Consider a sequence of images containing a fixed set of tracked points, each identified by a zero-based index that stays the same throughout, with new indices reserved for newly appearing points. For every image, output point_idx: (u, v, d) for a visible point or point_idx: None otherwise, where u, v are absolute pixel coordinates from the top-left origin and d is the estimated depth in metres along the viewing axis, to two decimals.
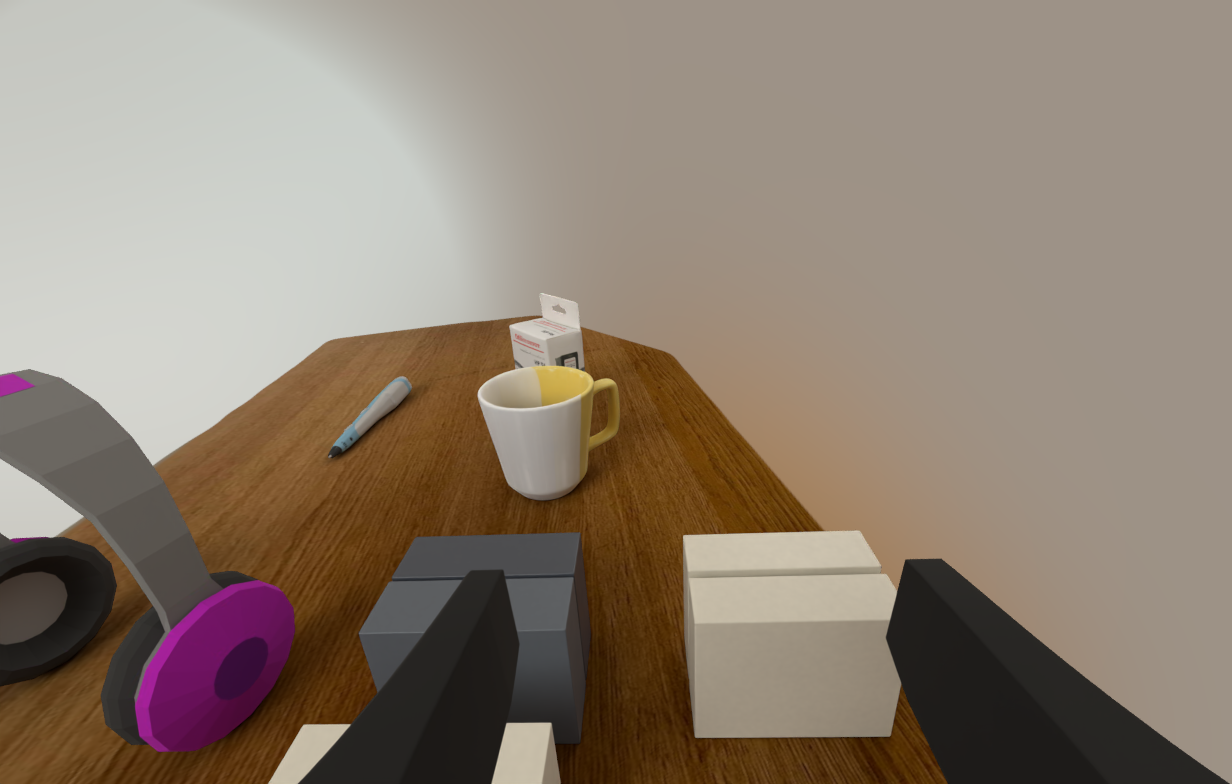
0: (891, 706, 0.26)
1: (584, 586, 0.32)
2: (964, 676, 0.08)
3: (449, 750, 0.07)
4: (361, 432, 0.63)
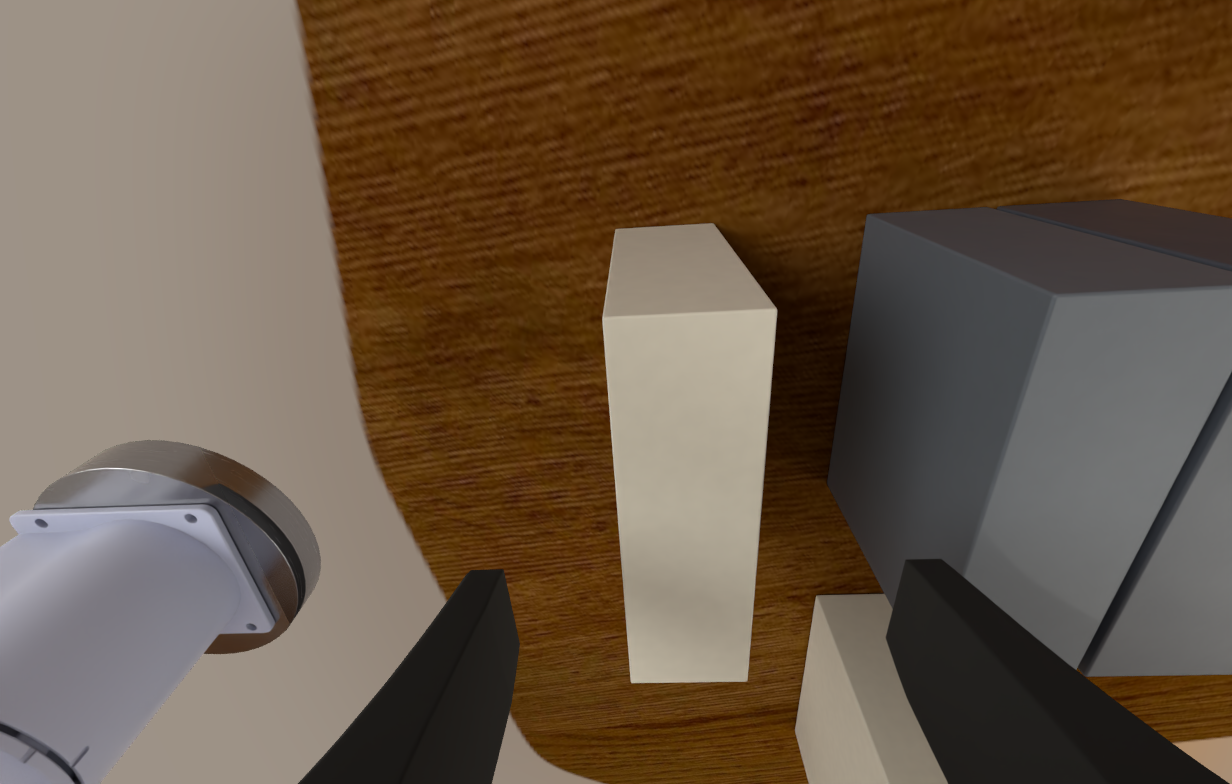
0: (807, 775, 0.26)
1: None
2: (964, 676, 0.08)
3: (449, 750, 0.07)
4: None
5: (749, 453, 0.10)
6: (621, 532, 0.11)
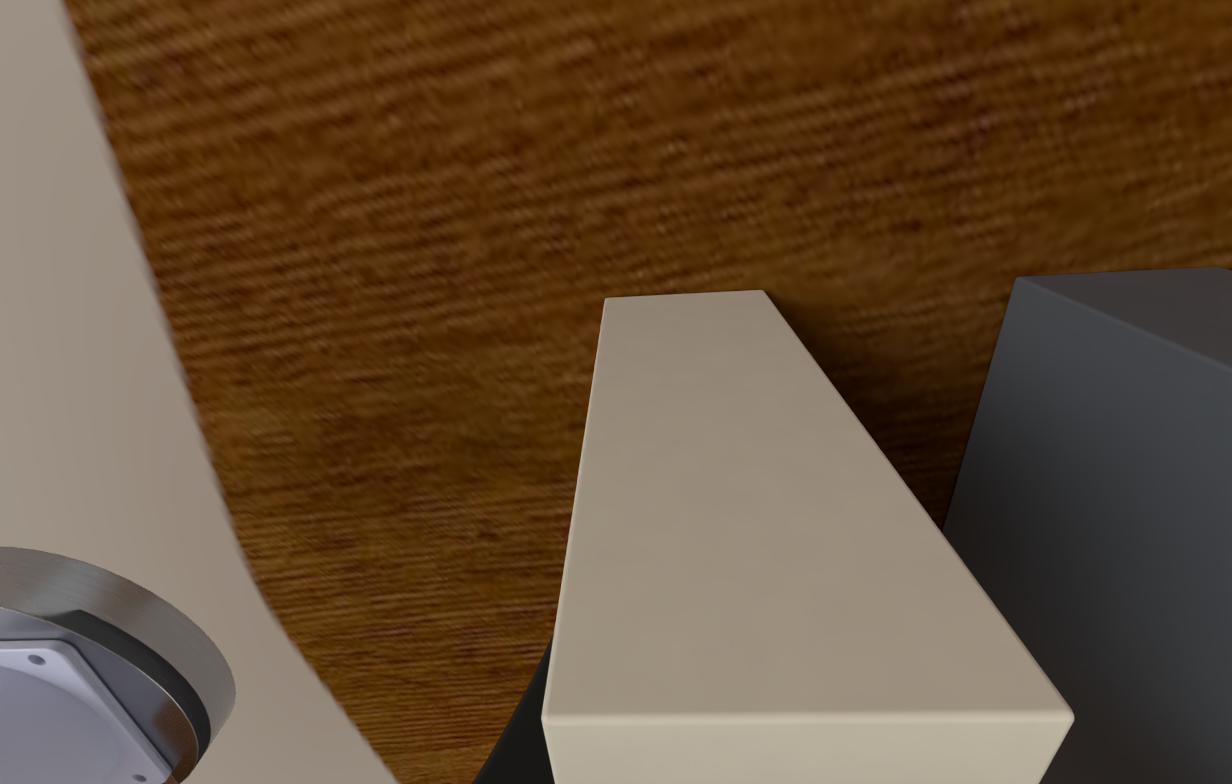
0: None
1: None
2: None
3: None
4: None
5: None
6: None
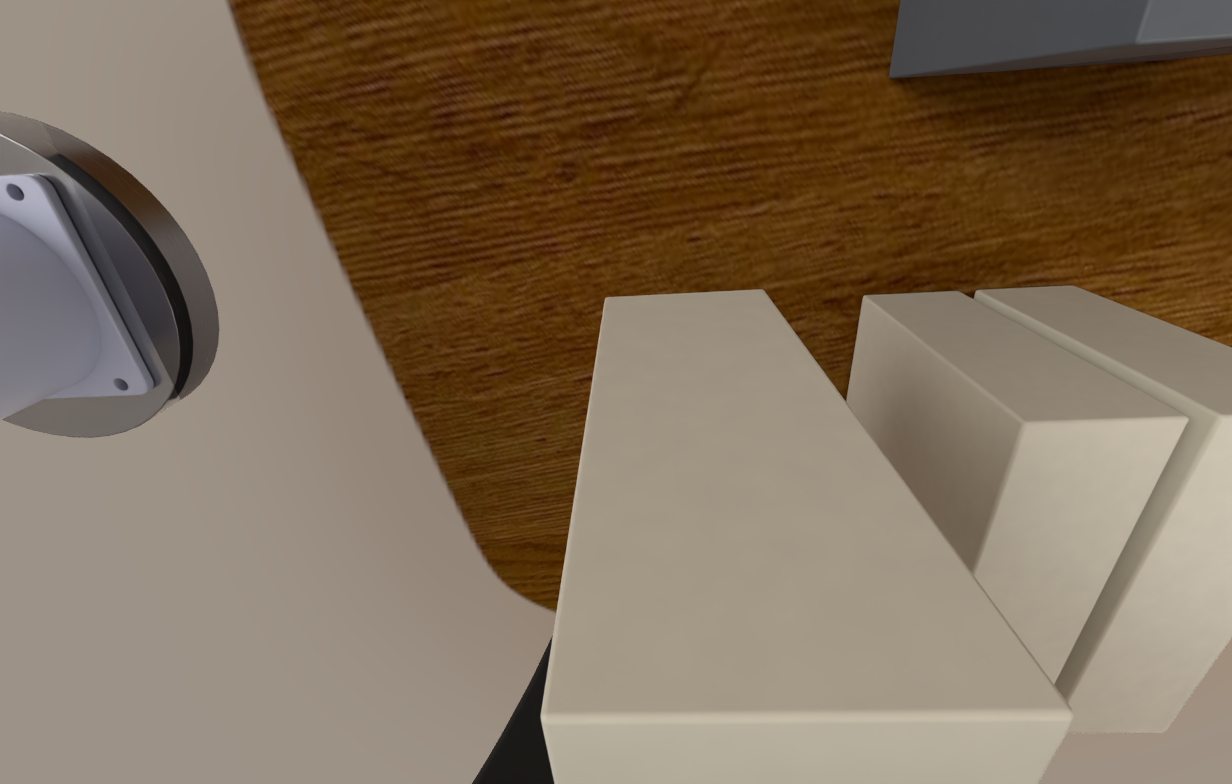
0: None
1: None
2: None
3: None
4: None
5: None
6: None
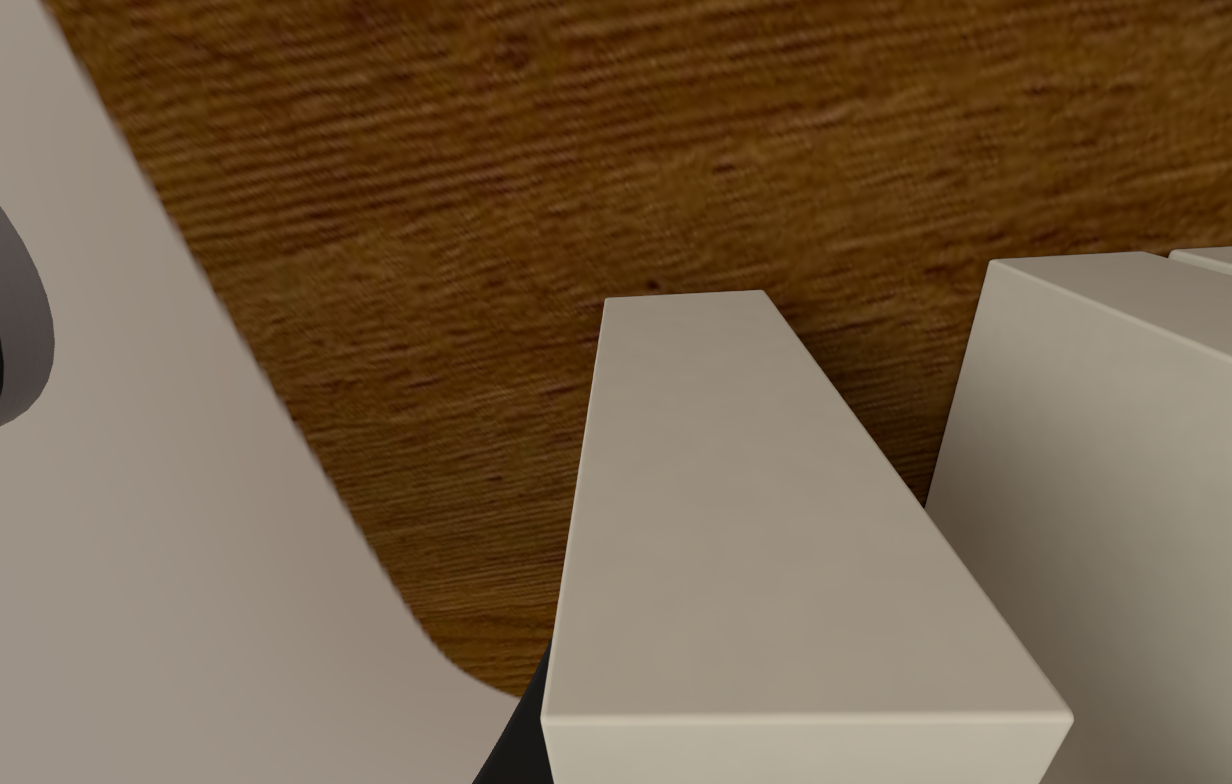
0: None
1: None
2: None
3: None
4: None
5: None
6: None
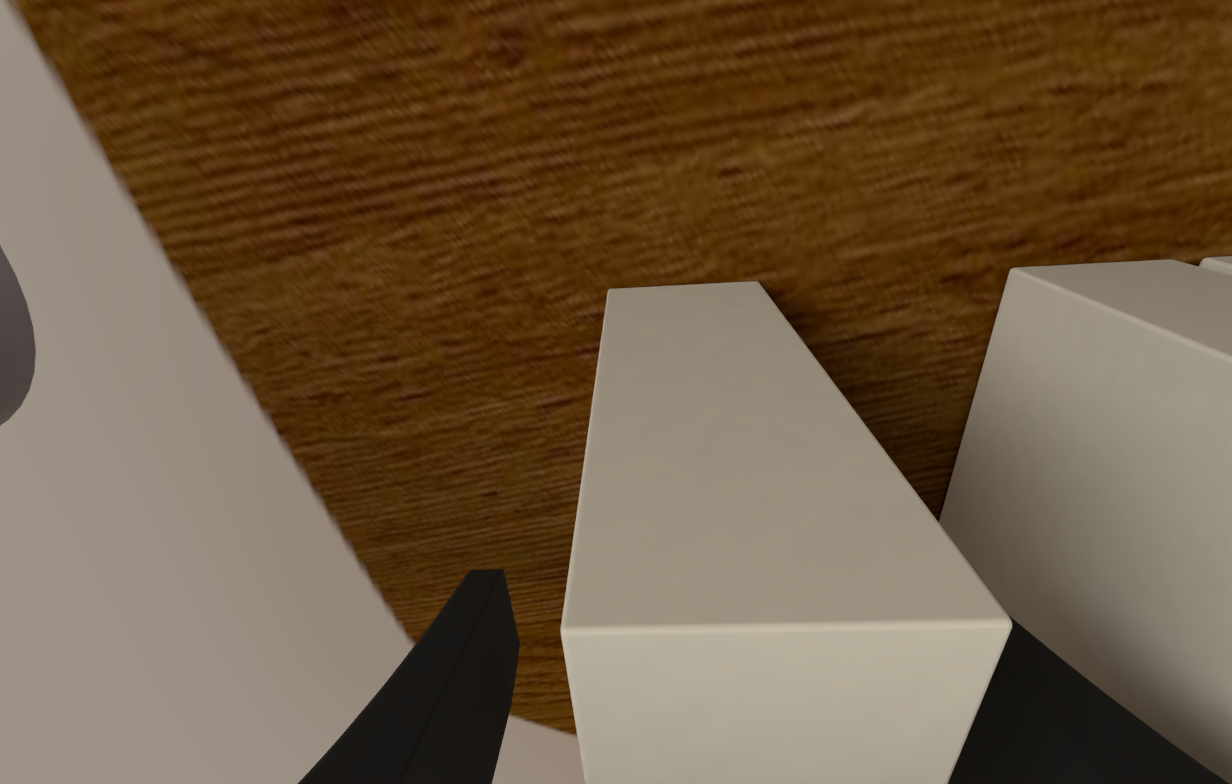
0: None
1: None
2: None
3: (449, 750, 0.07)
4: None
5: None
6: None
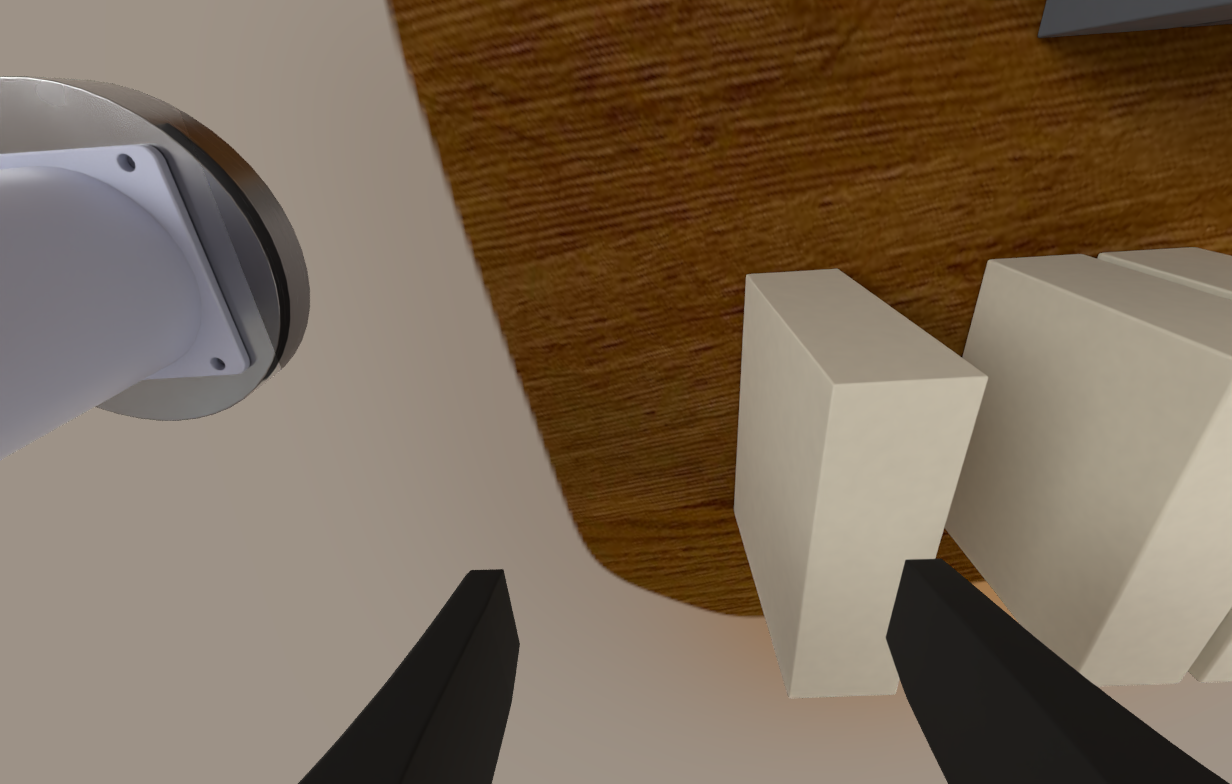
0: (956, 536, 0.20)
1: None
2: (964, 676, 0.08)
3: (449, 750, 0.07)
4: None
5: (938, 496, 0.12)
6: (809, 566, 0.13)
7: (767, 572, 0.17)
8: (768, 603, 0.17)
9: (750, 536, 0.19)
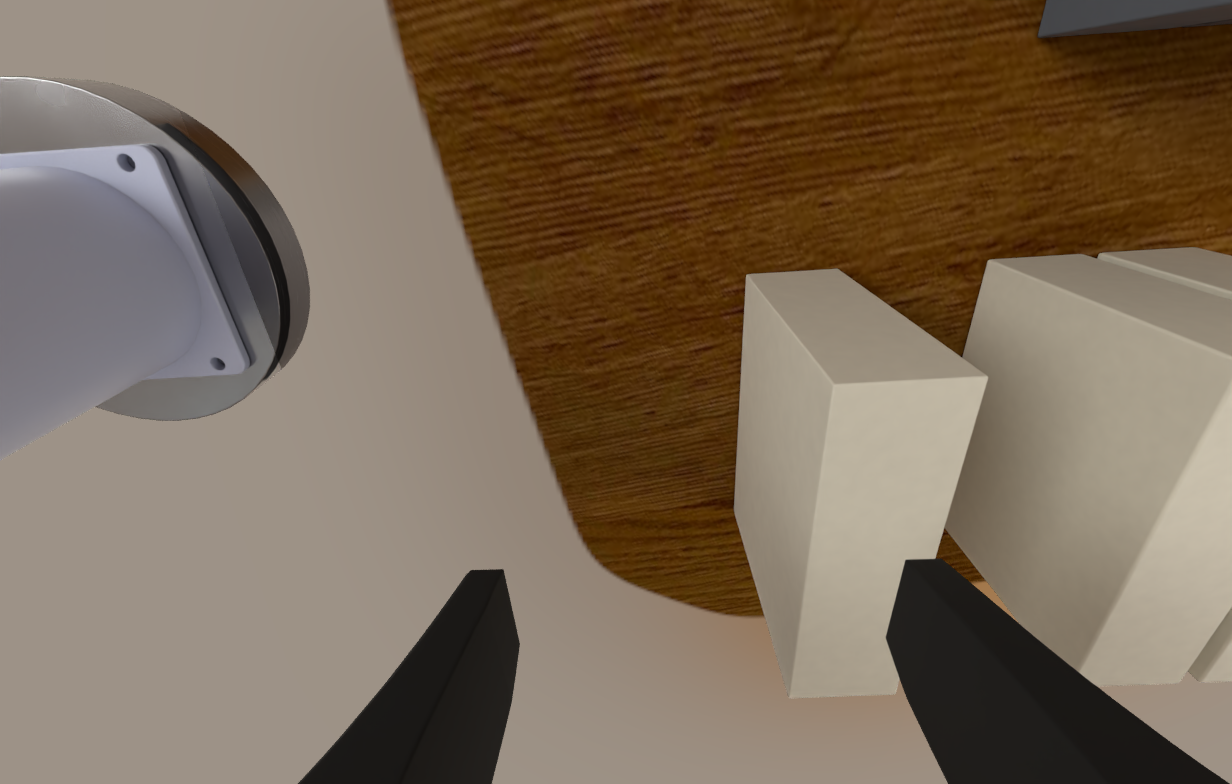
0: (956, 535, 0.20)
1: None
2: (964, 676, 0.08)
3: (449, 750, 0.07)
4: None
5: (938, 496, 0.12)
6: (809, 566, 0.13)
7: (767, 572, 0.17)
8: (768, 603, 0.17)
9: (750, 536, 0.19)
